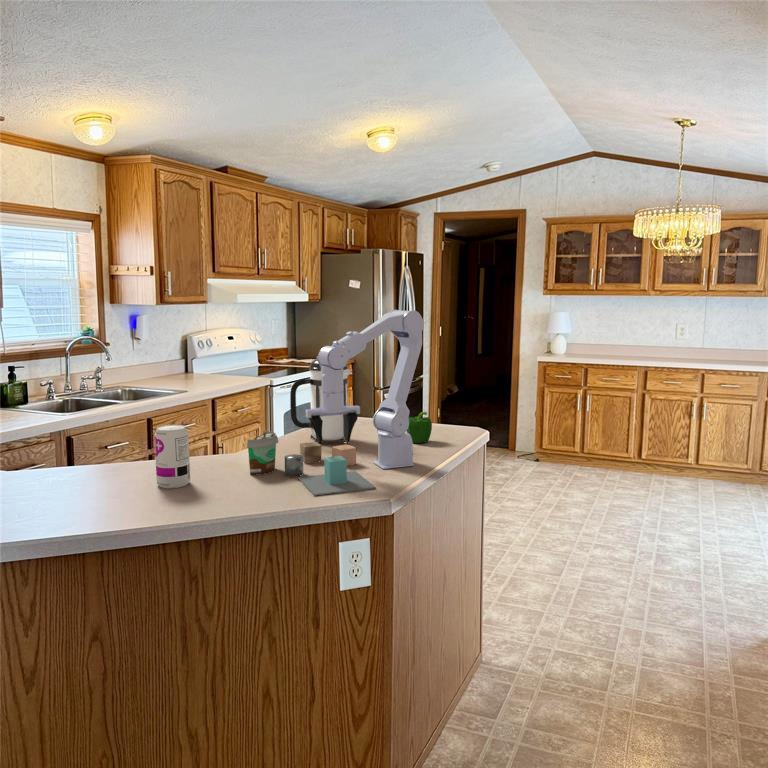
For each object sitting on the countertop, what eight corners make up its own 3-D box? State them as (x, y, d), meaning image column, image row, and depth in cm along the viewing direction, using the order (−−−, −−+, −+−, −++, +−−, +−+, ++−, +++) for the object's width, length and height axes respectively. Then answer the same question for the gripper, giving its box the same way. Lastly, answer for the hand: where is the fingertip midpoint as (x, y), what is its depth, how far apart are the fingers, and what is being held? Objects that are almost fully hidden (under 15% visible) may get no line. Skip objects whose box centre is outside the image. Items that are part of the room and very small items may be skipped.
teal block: (341, 478, 175) (340, 456, 175) (346, 482, 171) (346, 460, 170) (324, 480, 174) (324, 457, 173) (330, 485, 170) (329, 461, 169)
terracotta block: (346, 461, 195) (346, 444, 194) (356, 464, 191) (356, 447, 190) (332, 463, 192) (332, 446, 192) (341, 467, 188) (341, 450, 188)
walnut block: (316, 458, 199) (316, 441, 198) (321, 462, 194) (321, 445, 193) (300, 459, 197) (300, 443, 196) (304, 464, 192) (304, 447, 191)
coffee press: (324, 433, 231) (323, 347, 227) (361, 439, 222) (360, 349, 218) (289, 443, 217) (287, 351, 213) (327, 450, 208) (325, 354, 204)
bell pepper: (402, 443, 216) (402, 413, 215) (411, 438, 224) (411, 409, 222) (426, 445, 213) (427, 415, 212) (435, 440, 221) (435, 410, 219)
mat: (355, 472, 182) (355, 470, 182) (375, 489, 168) (375, 487, 168) (298, 478, 177) (298, 477, 177) (314, 496, 162) (313, 494, 162)
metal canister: (302, 471, 184) (302, 454, 183) (304, 476, 179) (304, 458, 178) (284, 472, 183) (284, 454, 182) (285, 477, 178) (285, 459, 177)
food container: (269, 477, 178) (268, 441, 177) (248, 476, 179) (246, 440, 178) (285, 465, 190) (284, 431, 189) (265, 464, 191) (264, 430, 190)
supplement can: (160, 491, 167) (157, 432, 165) (154, 482, 174) (151, 426, 172) (193, 486, 170) (190, 428, 168) (186, 478, 178) (184, 423, 176)
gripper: (353, 387, 182) (354, 436, 184) (302, 391, 177) (303, 441, 179) (362, 391, 176) (363, 441, 178) (309, 395, 171) (310, 447, 173)
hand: (333, 442), depth 178 cm, fingers open, 7 cm apart
